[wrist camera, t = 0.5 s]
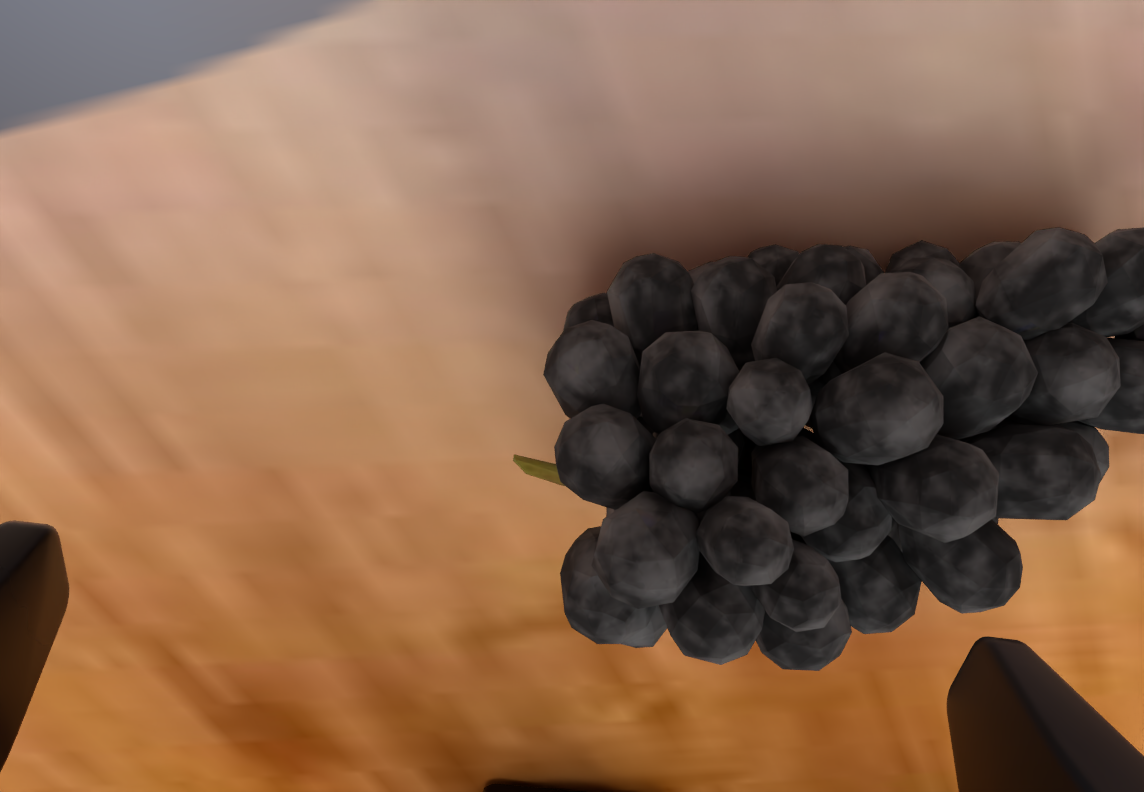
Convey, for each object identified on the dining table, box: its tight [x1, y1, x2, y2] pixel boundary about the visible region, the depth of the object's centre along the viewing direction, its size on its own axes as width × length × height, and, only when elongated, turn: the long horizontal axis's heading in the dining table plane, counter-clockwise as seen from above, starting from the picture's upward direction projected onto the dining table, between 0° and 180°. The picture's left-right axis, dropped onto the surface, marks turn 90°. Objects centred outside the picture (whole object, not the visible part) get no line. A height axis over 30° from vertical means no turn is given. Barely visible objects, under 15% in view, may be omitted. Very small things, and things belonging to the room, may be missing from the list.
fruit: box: [513, 227, 1144, 671], centre depth 20 cm, size 9×8×15 cm
